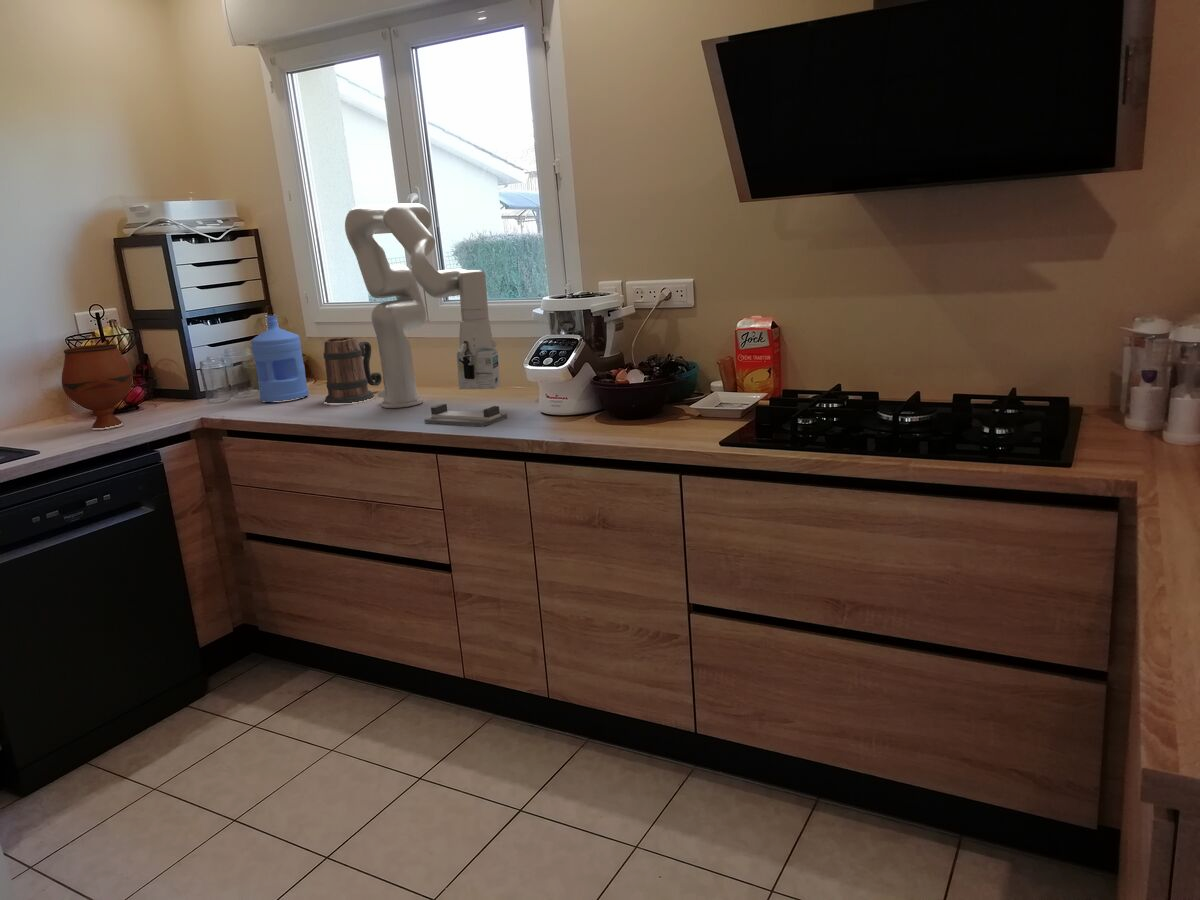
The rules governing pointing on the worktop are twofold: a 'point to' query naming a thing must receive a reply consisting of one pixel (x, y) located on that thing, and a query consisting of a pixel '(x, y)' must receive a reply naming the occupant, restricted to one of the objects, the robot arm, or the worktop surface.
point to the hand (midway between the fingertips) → (479, 375)
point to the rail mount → (464, 416)
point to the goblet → (97, 380)
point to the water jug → (279, 364)
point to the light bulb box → (481, 371)
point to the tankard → (348, 370)
